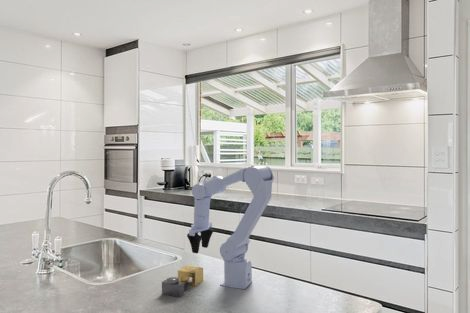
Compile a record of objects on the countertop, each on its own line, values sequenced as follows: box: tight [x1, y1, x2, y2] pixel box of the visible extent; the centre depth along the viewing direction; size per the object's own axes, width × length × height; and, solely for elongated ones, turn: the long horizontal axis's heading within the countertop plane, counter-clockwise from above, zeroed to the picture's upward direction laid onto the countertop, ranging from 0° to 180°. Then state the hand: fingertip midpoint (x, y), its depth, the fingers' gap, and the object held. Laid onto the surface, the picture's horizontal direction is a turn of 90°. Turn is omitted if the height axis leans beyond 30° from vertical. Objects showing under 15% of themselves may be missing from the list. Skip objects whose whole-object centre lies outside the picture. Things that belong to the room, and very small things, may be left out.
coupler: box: [161, 276, 188, 298], centre depth 124 cm, size 7×9×5 cm
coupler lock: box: [177, 265, 204, 287], centre depth 132 cm, size 7×6×5 cm
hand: (200, 249), depth 139 cm, fingers open, 7 cm apart
